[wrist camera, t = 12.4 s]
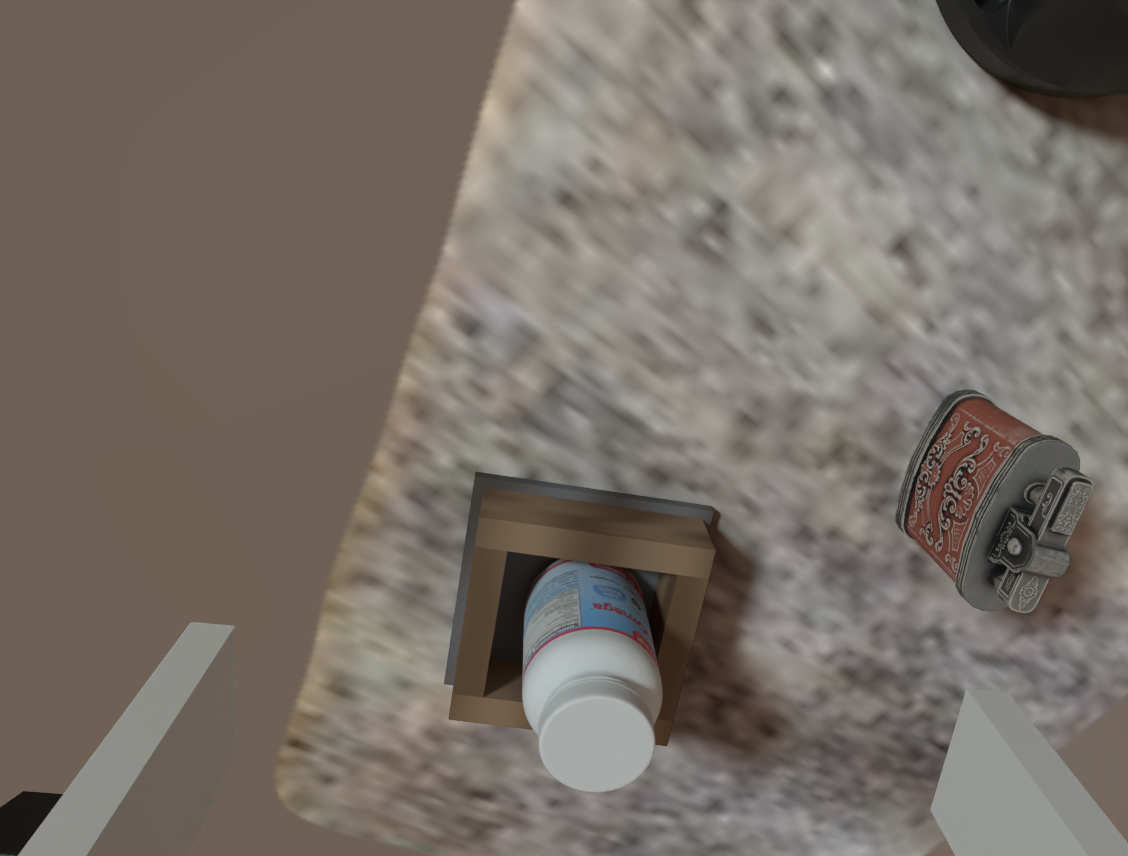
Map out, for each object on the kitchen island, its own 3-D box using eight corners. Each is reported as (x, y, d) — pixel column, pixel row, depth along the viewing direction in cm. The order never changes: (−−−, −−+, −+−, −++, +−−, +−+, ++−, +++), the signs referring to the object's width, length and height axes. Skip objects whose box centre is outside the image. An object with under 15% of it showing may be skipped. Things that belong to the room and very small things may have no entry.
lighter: (941, 542, 45) (1049, 651, 36) (881, 528, 45) (974, 634, 35) (1005, 398, 43) (1138, 473, 33) (941, 381, 42) (1058, 453, 33)
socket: (711, 506, 44) (728, 542, 40) (663, 704, 48) (674, 755, 44) (475, 471, 43) (470, 505, 39) (445, 677, 47) (437, 726, 43)
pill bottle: (664, 610, 45) (705, 757, 35) (570, 672, 46) (581, 833, 36) (596, 525, 44) (617, 653, 33) (499, 591, 45) (489, 736, 34)
